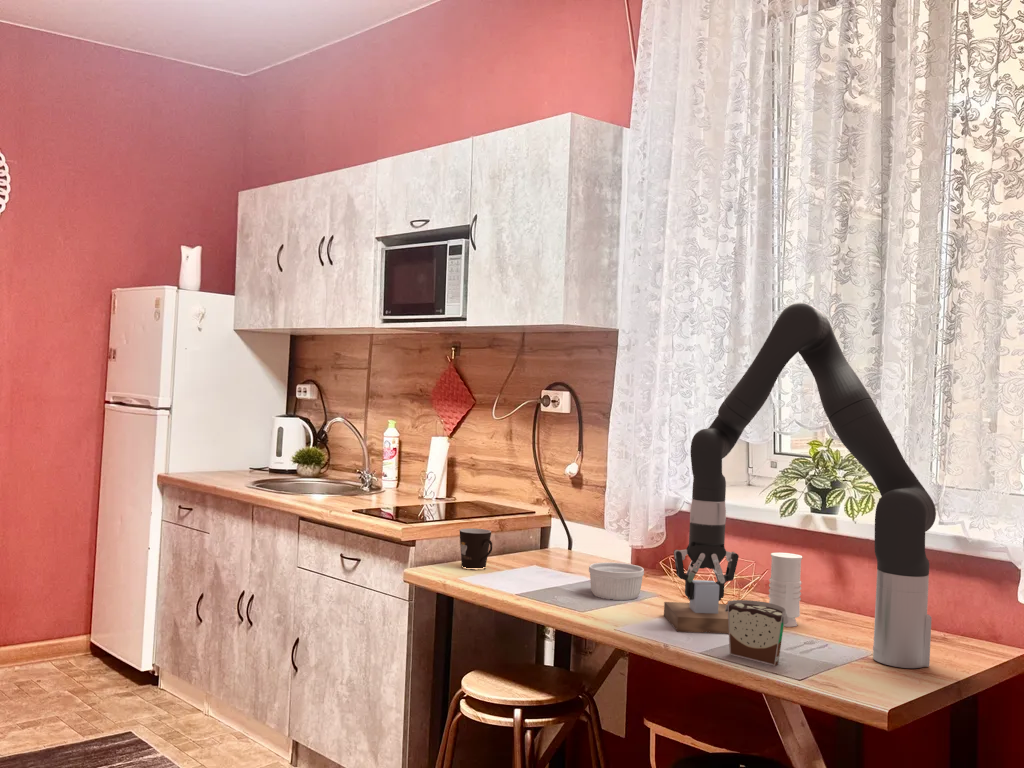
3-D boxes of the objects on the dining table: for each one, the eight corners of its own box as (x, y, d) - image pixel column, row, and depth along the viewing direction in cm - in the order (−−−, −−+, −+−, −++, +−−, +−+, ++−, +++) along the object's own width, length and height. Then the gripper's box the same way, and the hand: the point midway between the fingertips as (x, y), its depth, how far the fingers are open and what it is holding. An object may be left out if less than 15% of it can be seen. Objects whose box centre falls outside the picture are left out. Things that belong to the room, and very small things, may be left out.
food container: (797, 661, 178) (800, 608, 178) (782, 667, 173) (785, 613, 173) (738, 647, 186) (740, 596, 186) (722, 652, 182) (725, 600, 182)
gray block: (711, 608, 206) (713, 580, 206) (718, 613, 201) (719, 585, 201) (689, 607, 206) (690, 579, 206) (694, 612, 201) (696, 584, 201)
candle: (771, 626, 205) (775, 557, 205) (763, 618, 212) (766, 551, 212) (803, 628, 205) (806, 558, 205) (794, 620, 212) (797, 553, 212)
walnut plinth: (725, 617, 211) (726, 604, 211) (744, 634, 197) (744, 619, 197) (663, 615, 210) (664, 601, 210) (677, 631, 196) (678, 617, 196)
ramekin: (590, 600, 222) (592, 571, 222) (584, 588, 235) (586, 560, 235) (647, 603, 223) (648, 573, 223) (637, 591, 236) (639, 563, 236)
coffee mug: (455, 564, 258) (457, 528, 259) (486, 565, 260) (488, 528, 260) (461, 573, 247) (463, 534, 247) (493, 573, 249) (495, 535, 249)
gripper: (735, 520, 208) (732, 597, 208) (670, 517, 207) (667, 594, 207) (745, 524, 200) (741, 604, 200) (678, 522, 200) (674, 602, 200)
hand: (703, 599), depth 204 cm, fingers open, 5 cm apart
